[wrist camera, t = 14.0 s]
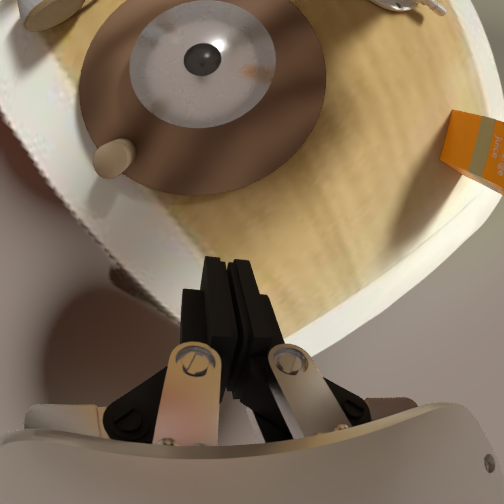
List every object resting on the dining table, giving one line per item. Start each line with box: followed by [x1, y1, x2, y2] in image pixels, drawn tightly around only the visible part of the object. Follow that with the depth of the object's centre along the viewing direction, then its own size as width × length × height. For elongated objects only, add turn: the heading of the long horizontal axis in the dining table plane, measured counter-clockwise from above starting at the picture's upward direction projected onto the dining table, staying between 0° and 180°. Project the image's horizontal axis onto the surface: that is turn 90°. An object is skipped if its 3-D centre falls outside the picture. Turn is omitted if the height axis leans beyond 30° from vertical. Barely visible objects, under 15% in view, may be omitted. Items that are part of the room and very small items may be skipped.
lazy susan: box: [79, 0, 326, 196], centre depth 19 cm, size 24×24×6 cm
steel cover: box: [129, 0, 276, 128], centre depth 19 cm, size 12×12×3 cm
